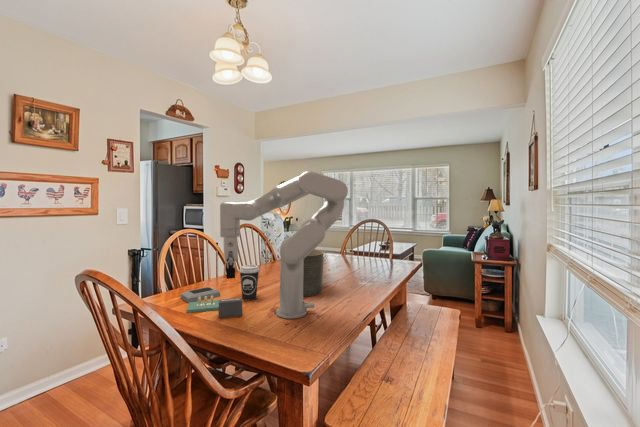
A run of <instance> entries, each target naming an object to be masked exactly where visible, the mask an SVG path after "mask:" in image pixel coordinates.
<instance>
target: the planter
mask: <svg viewBox="0 0 640 427" xmlns="http://www.w3.org/2000/svg"><path fill="white" fill-rule="evenodd" d="M324 256H325V255H324V251H323V250H321V249H316V248H315V249H314V250H313V251H312V252H311V253H310V254H309V255H307V256H306V257H305V258H304V276H303V298H304V297H312V296H316V295H319V294H321V293H322V292H323V282H324V281H323V279H324V278H323V277H324Z"/></svg>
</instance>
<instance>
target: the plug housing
mask: <svg viewBox="0 0 640 427" xmlns="http://www.w3.org/2000/svg"><path fill="white" fill-rule="evenodd" d="M218 300H219V310H218V319H220V318H223V319H224V318H232V317H240V316H243V299H242V297H236V298H223V299H218Z"/></svg>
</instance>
